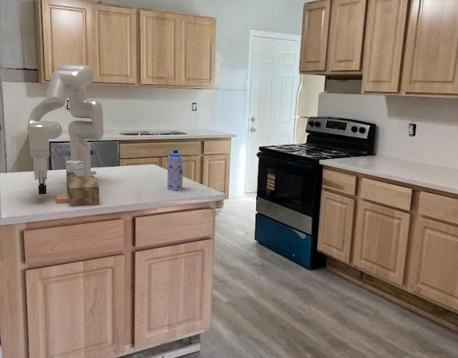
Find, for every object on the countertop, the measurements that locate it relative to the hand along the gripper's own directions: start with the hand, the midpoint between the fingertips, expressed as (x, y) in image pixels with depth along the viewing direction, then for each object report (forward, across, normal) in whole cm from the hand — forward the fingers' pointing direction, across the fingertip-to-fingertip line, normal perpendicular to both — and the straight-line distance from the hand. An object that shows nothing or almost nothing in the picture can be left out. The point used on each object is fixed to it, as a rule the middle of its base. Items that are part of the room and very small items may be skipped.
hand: (42, 193), depth 194 cm
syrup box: (+4, -15, +14) cm, 21 cm away
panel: (+4, +2, +12) cm, 13 cm away
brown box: (+3, +1, +16) cm, 17 cm away
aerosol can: (+4, -8, +62) cm, 62 cm away
